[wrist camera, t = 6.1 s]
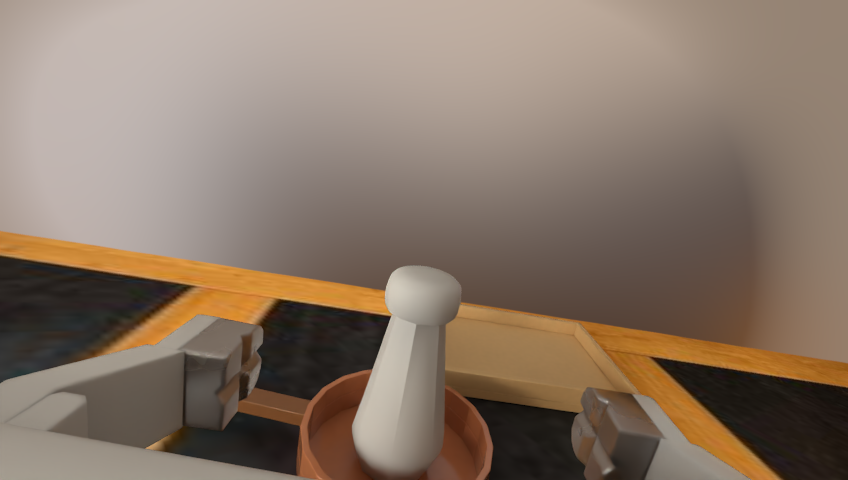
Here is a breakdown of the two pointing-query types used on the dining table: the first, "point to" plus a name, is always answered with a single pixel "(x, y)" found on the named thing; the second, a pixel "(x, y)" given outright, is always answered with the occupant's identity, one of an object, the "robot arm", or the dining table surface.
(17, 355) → the dining table surface
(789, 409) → the dining table surface
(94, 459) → the robot arm
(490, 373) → the tray
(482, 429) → the pan
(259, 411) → the pan handle
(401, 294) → the salt shaker
